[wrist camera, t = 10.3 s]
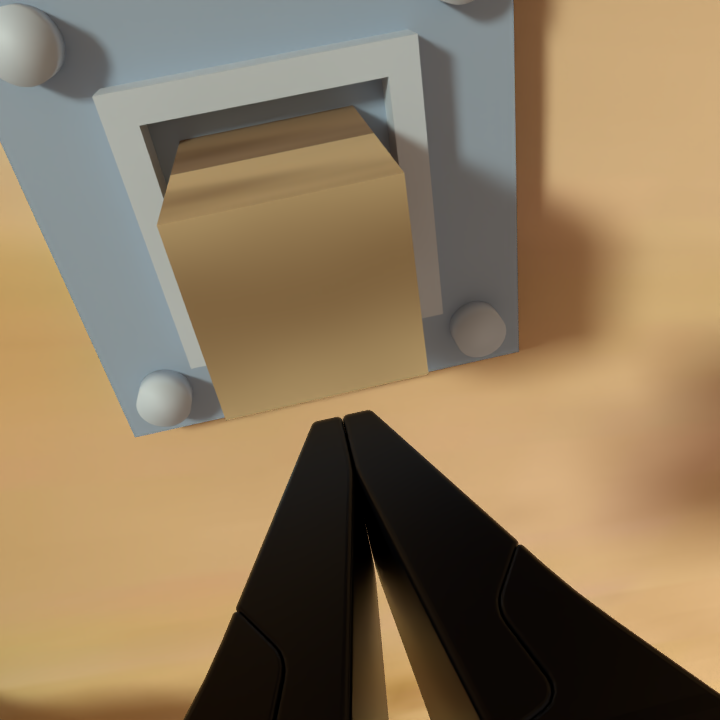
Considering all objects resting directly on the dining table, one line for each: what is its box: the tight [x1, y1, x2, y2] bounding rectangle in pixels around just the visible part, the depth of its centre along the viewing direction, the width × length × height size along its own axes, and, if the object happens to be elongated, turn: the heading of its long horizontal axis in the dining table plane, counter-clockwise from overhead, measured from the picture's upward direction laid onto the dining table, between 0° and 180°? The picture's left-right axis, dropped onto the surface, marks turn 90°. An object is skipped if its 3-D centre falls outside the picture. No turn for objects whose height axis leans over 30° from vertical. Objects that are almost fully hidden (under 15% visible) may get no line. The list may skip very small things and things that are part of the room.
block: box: [157, 105, 429, 421], centre depth 15 cm, size 4×4×6 cm
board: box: [0, 0, 519, 437], centre depth 18 cm, size 13×13×2 cm
